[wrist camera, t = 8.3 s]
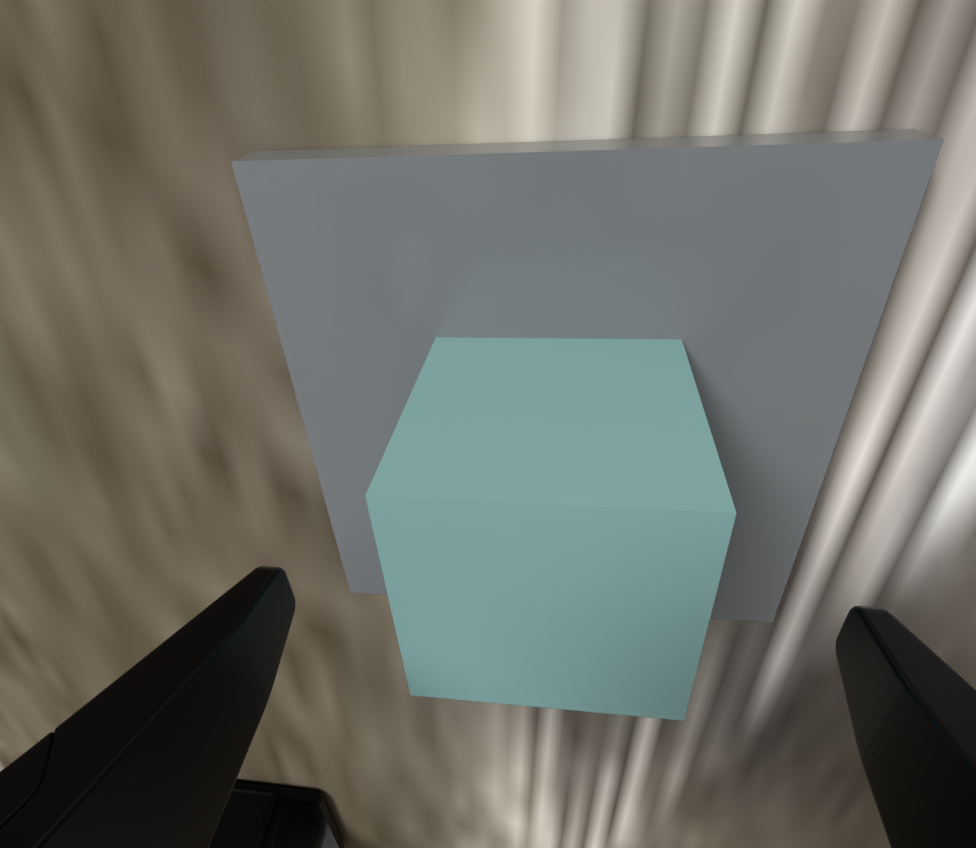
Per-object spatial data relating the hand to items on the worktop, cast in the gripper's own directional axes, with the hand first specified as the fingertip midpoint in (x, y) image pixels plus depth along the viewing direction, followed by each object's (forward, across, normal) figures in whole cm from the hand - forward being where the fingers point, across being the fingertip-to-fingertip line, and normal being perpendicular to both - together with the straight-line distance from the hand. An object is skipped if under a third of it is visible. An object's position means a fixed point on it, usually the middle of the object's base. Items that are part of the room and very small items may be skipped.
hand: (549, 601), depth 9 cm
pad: (+6, 0, 0) cm, 6 cm away
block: (+5, 0, 0) cm, 5 cm away
